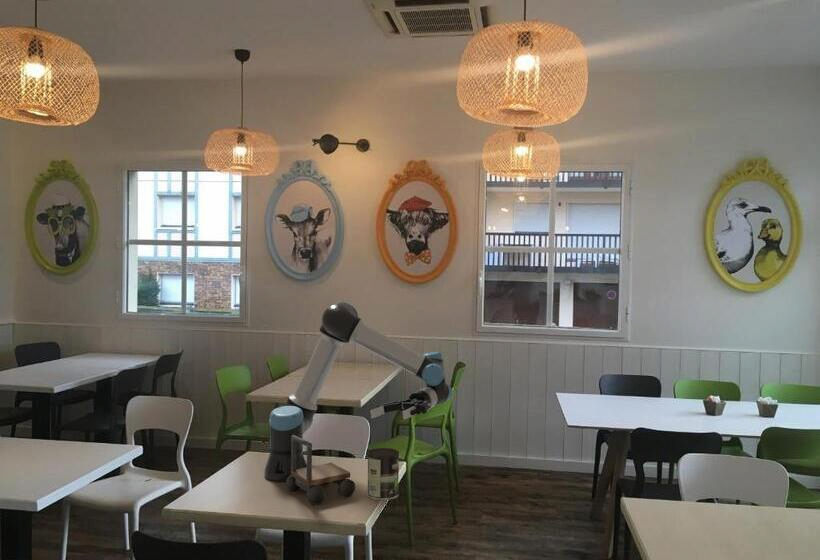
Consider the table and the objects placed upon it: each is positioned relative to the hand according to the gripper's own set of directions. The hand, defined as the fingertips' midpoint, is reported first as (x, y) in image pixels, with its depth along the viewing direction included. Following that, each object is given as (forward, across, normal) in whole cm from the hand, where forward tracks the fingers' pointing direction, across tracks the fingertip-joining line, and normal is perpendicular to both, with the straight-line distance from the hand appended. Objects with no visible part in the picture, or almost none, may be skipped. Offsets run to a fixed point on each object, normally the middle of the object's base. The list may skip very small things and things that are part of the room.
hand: (387, 414), depth 213 cm
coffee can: (+7, 0, -25) cm, 26 cm away
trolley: (+18, +18, -22) cm, 33 cm away
